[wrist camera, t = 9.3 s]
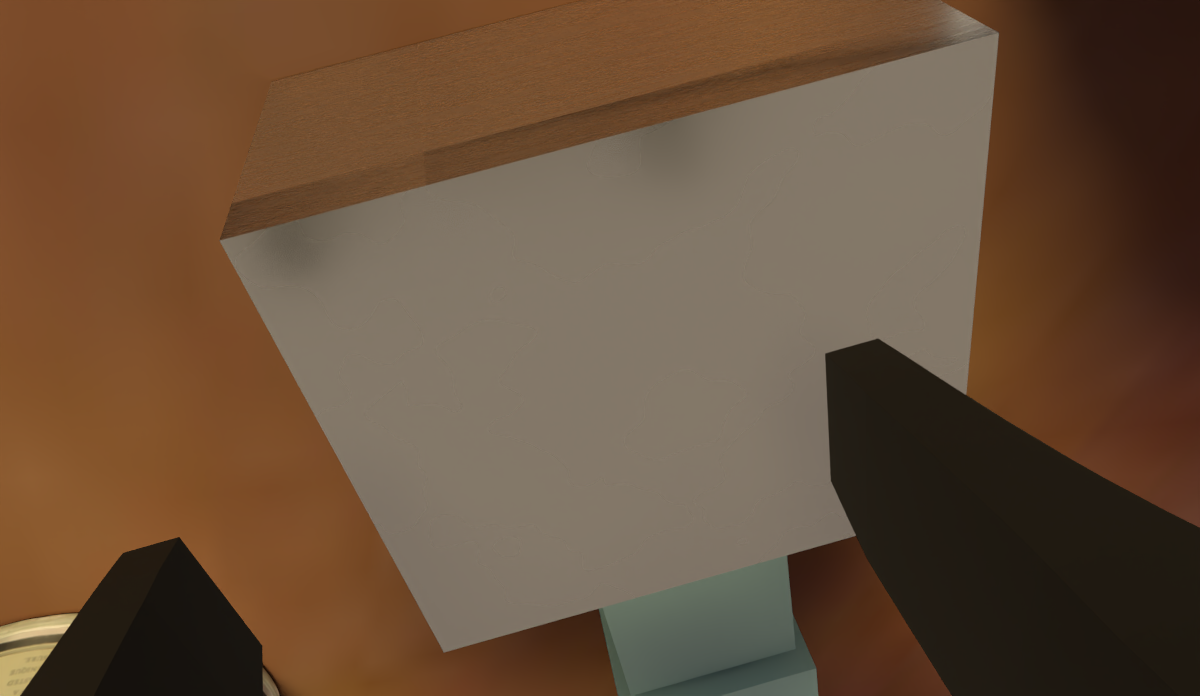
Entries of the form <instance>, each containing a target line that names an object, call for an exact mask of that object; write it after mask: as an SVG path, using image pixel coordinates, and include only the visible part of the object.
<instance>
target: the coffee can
mask: <svg viewBox="0 0 1200 696" xmlns="http://www.w3.org/2000/svg"><path fill="white" fill-rule="evenodd" d="M77 615H78V613H71V614H59V615H51V616H45V617H39V618H33V619H28V620H24V621H19V622H15V623H12V624H8V625H4V626H1V627H0V696H20V695H21V694H22V692H23V691H24V689H25V688H26V687H27V685H28V684H29V682H30V681H31V680H32V678H33V677H34V675H35V674H36V673H37V671H38V670H39V668H40V667H41V666H42V664H43V663H44V661H45V660H46V659H47V657H48V656H49V654H50V653H51V651H52V650H53V649H54V647H55V646H56V644H57V643H58V642H59V640H60V639H61V637H62V636H63V634H64V633H65V632H66V630H67V629H68V627H69V626H70V625H71V623H72V622H73V620H74V619H75V617H76V616H77ZM263 696H280V695H279V692H278V689H277V687H276V685H275V683H274V682H273V680H272V678H271V677H270V675H269V674H268V673H267V672H266V670H265V669H264V668H263Z"/></svg>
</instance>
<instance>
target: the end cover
mask: <svg viewBox="0 0 1200 696" xmlns="http://www.w3.org/2000/svg"><path fill="white" fill-rule="evenodd" d="M599 613H600V617H601V621H602V626H603V630H604V635H605V639H606V644H607V648H608V653H609V657H610V662H611V666H612V671H613V675H614V680H615V684H616V689H617V693H618V696H818V685H817V671H816V666H815V664H814V662H813V659H812V657H811V655H810V653H809V650H808V648H807V646H806V643H805V641H804V639H803V636H802V634H801V632H800V630H799V627H798V625H797V623H796V620H795V618H794V616H793V613H792V603H791V593H790V583H789V572H788V562H787V555H786V556H783V557H779V558H776V559H772V560H769V561H765V562H761V563H758V564H754V565H751V566H747V567H744V568H740V569H737V570H733V571H730V572H726V573H723V574H719V575H716V576H712V577H709V578H705V579H701V580H698V581H694V582H691V583H687V584H684V585H680V586H677V587H673V588H670V589H666V590H663V591H659V592H656V593H652V594H649V595H645V596H641V597H638V598H634V599H631V600H627V601H624V602H620V603H617V604H613V605H610V606H606V607H603V608H599Z"/></svg>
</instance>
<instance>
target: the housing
mask: <svg viewBox="0 0 1200 696" xmlns="http://www.w3.org/2000/svg"><path fill="white" fill-rule="evenodd" d="M998 37H999V33H998V32H996V31H995V30H993V29H991V28H989V27H987V26H986V25H984V24H982V23H980V22H978V21H976V20H975V19H973V18H971V17H969V16H967V15H965V14H964V13H962V12H960V11H958V10H956V9H955V8H953V7H951V6H949V5H947V4H945V3H944V2H942V1H940V0H582V1H578V2H575V3H571V4H567V5H563V6H559V7H555V8H552V9H548V10H544V11H540V12H536V13H533V14H529V15H525V16H521V17H517V18H513V19H510V20H506V21H502V22H498V23H494V24H490V25H487V26H483V27H479V28H475V29H471V30H468V31H464V32H460V33H456V34H452V35H448V36H445V37H441V38H437V39H433V40H429V41H425V42H422V43H418V44H414V45H410V46H406V47H403V48H399V49H395V50H391V51H387V52H383V53H380V54H376V55H372V56H368V57H364V58H360V59H357V60H353V61H349V62H345V63H341V64H338V65H334V66H330V67H326V68H322V69H318V70H315V71H311V72H307V73H303V74H299V75H295V76H292V77H288V78H284V79H280V80H276V81H273V82H271V85H270V89H269V92H268V95H267V98H266V101H265V104H264V107H263V110H262V113H261V116H260V119H259V122H258V125H257V128H256V131H255V134H254V137H253V140H252V143H251V146H250V150H249V153H248V156H247V159H246V162H245V165H244V168H243V171H242V174H241V177H240V180H239V183H238V186H237V189H236V192H235V195H234V198H233V201H232V204H231V207H230V211H229V214H228V217H227V220H226V223H225V226H224V229H223V232H222V235H221V238H220V242H221V244H222V246H223V248H224V250H225V251H226V253H227V255H228V257H229V259H230V261H231V262H232V264H233V266H234V268H235V270H236V272H237V273H238V275H239V277H240V279H241V281H242V283H243V284H244V286H245V288H246V290H247V292H248V294H249V295H250V297H251V299H252V301H253V303H254V305H255V306H256V308H257V310H258V312H259V314H260V316H261V317H262V319H263V321H264V323H265V325H266V327H267V328H268V330H269V332H270V334H271V336H272V338H273V339H274V341H275V343H276V345H277V347H278V349H279V351H280V352H281V354H282V356H283V358H284V360H285V362H286V363H287V365H288V367H289V369H290V371H291V373H292V374H293V376H294V378H295V380H296V382H297V384H298V385H299V387H300V389H301V391H302V393H303V395H304V396H305V398H306V400H307V402H308V404H309V406H310V407H311V409H312V411H313V413H314V415H315V417H316V418H317V420H318V422H319V424H320V426H321V428H322V429H323V431H324V433H325V435H326V437H327V439H328V440H329V442H330V444H331V446H332V448H333V450H334V451H335V453H336V455H337V457H338V459H339V461H340V463H341V464H342V466H343V468H344V470H345V472H346V474H347V475H348V477H349V479H350V481H351V483H352V485H353V486H354V488H355V490H356V492H357V494H358V496H359V497H360V499H361V501H362V503H363V505H364V507H365V508H366V510H367V512H368V514H369V516H370V518H371V519H372V521H373V523H374V525H375V527H376V529H377V530H378V532H379V534H380V536H381V538H382V540H383V541H384V543H385V545H386V547H387V549H388V551H389V552H390V554H391V556H392V558H393V560H394V562H395V563H396V565H397V567H398V569H399V571H400V573H401V575H402V576H403V578H404V580H405V582H406V584H407V586H408V587H409V589H410V591H411V593H412V595H413V597H414V598H415V600H416V602H417V604H418V606H419V608H420V609H421V611H422V613H423V615H424V617H425V619H426V620H427V622H428V624H429V626H430V628H431V630H432V631H433V633H434V635H435V637H436V639H437V641H438V642H439V644H440V646H441V648H442V650H443V652H447V651H451V650H454V649H458V648H461V647H465V646H468V645H472V644H476V643H479V642H483V641H486V640H490V639H493V638H497V637H500V636H504V635H507V634H511V633H514V632H518V631H521V630H525V629H528V628H532V627H536V626H539V625H543V624H546V623H550V622H553V621H557V620H560V619H564V618H567V617H571V616H574V615H578V614H581V613H585V612H589V611H592V610H596V609H599V608H603V607H606V606H610V605H613V604H617V603H620V602H624V601H627V600H631V599H634V598H638V597H641V596H645V595H649V594H652V593H656V592H659V591H663V590H666V589H670V588H673V587H677V586H680V585H684V584H687V583H691V582H694V581H698V580H701V579H705V578H709V577H712V576H716V575H719V574H723V573H726V572H730V571H733V570H737V569H740V568H744V567H747V566H751V565H754V564H758V563H761V562H765V561H769V560H772V559H776V558H779V557H783V556H786V555H790V554H793V553H797V552H800V551H804V550H807V549H811V548H814V547H818V546H822V545H825V544H829V543H832V542H836V541H839V540H843V539H846V538H850V537H853V536H856V534H855V532H854V530H853V528H852V526H851V524H850V522H849V520H848V518H847V515H846V513H845V511H844V509H843V507H842V504H841V502H840V500H839V498H838V496H837V493H836V491H835V489H834V487H833V485H832V482H831V476H830V453H829V431H828V409H827V387H826V364H825V353H828V352H832V351H835V350H839V349H842V348H846V347H850V346H853V345H857V344H860V343H864V342H867V341H871V340H874V339H880V340H881V341H883V342H885V343H886V344H888V345H889V346H891V347H893V348H894V349H896V350H897V351H899V352H900V353H902V354H904V355H905V356H907V357H908V358H910V359H911V360H913V361H914V362H916V363H917V364H919V365H920V366H922V367H924V368H925V369H927V370H928V371H930V372H931V373H933V374H934V375H936V376H937V377H939V378H940V379H942V380H944V381H945V382H947V383H948V384H950V385H951V386H953V387H954V388H956V389H957V390H959V391H961V392H962V393H964V394H965V395H966V391H967V380H968V369H969V358H970V347H971V336H972V324H973V313H974V302H975V291H976V280H977V269H978V258H979V247H980V236H981V225H982V214H983V203H984V192H985V181H986V170H987V159H988V148H989V137H990V126H991V115H992V104H993V93H994V82H995V71H996V59H997V48H998Z"/></svg>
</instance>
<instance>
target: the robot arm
mask: <svg viewBox="0 0 1200 696" xmlns="http://www.w3.org/2000/svg"><path fill="white" fill-rule="evenodd" d="M825 364H826V387H827V409H828V431H829V453H830V476H831V482H832V485H833V487H834V489H835V491H836V493H837V496H838V498H839V500H840V502H841V504H842V507H843V509H844V511H845V513H846V515H847V518H848V520H849V522H850V524H851V526H852V528H853V530H854V532H855V534H856V537H857V539H858V541H859V543H860V545H861V547H862V549H863V551H864V553H865V555H866V557H867V559H868V561H869V563H870V564H871V566H872V568H873V569H874V571H875V573H876V574H877V576H878V578H879V579H880V581H881V582H882V584H883V586H884V587H885V589H886V591H887V592H888V594H889V595H890V597H891V599H892V600H893V602H894V603H895V605H896V607H897V608H898V610H899V612H900V613H901V615H902V616H903V618H904V620H905V621H906V623H907V624H908V626H909V628H910V629H911V631H912V632H913V634H914V636H915V637H916V639H917V640H918V642H919V644H920V645H921V647H922V648H923V650H924V652H925V653H926V655H927V656H928V658H929V660H930V661H931V663H932V664H933V666H934V668H935V669H936V671H937V672H938V674H939V676H940V677H941V679H942V680H943V682H944V684H945V685H946V687H947V688H948V690H949V692H950V693H951V695H952V696H1200V528H1199V527H1197V526H1195V525H1193V524H1191V523H1189V522H1187V521H1185V520H1183V519H1181V518H1179V517H1177V516H1175V515H1173V514H1171V513H1169V512H1167V511H1165V510H1163V509H1161V508H1159V507H1158V506H1156V505H1154V504H1152V503H1150V502H1148V501H1146V500H1144V499H1143V498H1141V497H1139V496H1137V495H1135V494H1133V493H1131V492H1129V491H1128V490H1126V489H1124V488H1122V487H1120V486H1118V485H1116V484H1114V483H1113V482H1111V481H1109V480H1107V479H1105V478H1103V477H1101V476H1100V475H1098V474H1096V473H1094V472H1093V471H1091V470H1089V469H1087V468H1086V467H1084V466H1082V465H1080V464H1079V463H1077V462H1075V461H1073V460H1071V459H1070V458H1068V457H1066V456H1065V455H1063V454H1061V453H1060V452H1058V451H1056V450H1055V449H1053V448H1051V447H1050V446H1048V445H1046V444H1045V443H1043V442H1041V441H1040V440H1038V439H1036V438H1035V437H1033V436H1031V435H1030V434H1028V433H1026V432H1025V431H1023V430H1021V429H1020V428H1018V427H1016V426H1015V425H1013V424H1011V423H1010V422H1008V421H1006V420H1005V419H1003V418H1002V417H1000V416H998V415H997V414H995V413H994V412H992V411H990V410H989V409H987V408H986V407H984V406H982V405H981V404H979V403H978V402H976V401H975V400H973V399H972V398H970V397H968V396H967V395H965V394H964V393H962V392H961V391H959V390H957V389H956V388H954V387H953V386H951V385H950V384H948V383H947V382H945V381H944V380H942V379H940V378H939V377H937V376H936V375H934V374H933V373H931V372H930V371H928V370H927V369H925V368H924V367H922V366H920V365H919V364H917V363H916V362H914V361H913V360H911V359H910V358H908V357H907V356H905V355H904V354H902V353H900V352H899V351H897V350H896V349H894V348H893V347H891V346H889V345H888V344H886V343H885V342H883V341H881V340H880V339H874V340H871V341H867V342H864V343H860V344H857V345H853V346H850V347H846V348H842V349H839V350H835V351H832V352H828V353H825ZM20 696H263V663H262V645H261V644H260V642H259V641H258V640H257V638H256V637H255V636H254V634H253V633H252V632H251V630H250V629H249V628H248V627H247V625H246V624H245V623H244V621H243V620H242V619H241V617H240V616H239V615H238V613H237V612H236V611H235V610H234V608H233V607H232V606H231V604H230V603H229V602H228V600H227V599H226V598H225V596H224V595H223V594H222V593H221V591H220V590H219V589H218V587H217V586H216V585H215V583H214V582H213V581H212V579H211V578H210V577H209V575H208V574H207V573H206V572H205V570H204V569H203V568H202V566H201V565H200V564H199V562H198V561H197V560H196V558H195V557H194V556H193V555H192V553H191V552H190V551H189V549H188V548H187V547H186V545H185V544H184V543H183V541H182V540H181V539H180V538H179V537H178V538H174V539H171V540H167V541H164V542H160V543H157V544H153V545H150V546H146V547H143V548H139V549H136V550H132V551H129V552H125V553H123V554H122V555H121V556H120V558H119V559H118V560H117V562H116V563H115V564H114V565H113V567H112V568H111V569H110V571H109V572H108V573H107V575H106V576H105V577H104V579H103V580H102V581H101V583H100V584H99V585H98V587H97V588H96V590H95V591H94V592H93V594H92V595H91V596H90V598H89V599H88V601H87V602H86V603H85V605H84V606H83V608H82V609H81V610H80V612H79V613H78V615H77V616H76V617H75V619H74V620H73V622H72V623H71V625H70V626H69V627H68V629H67V630H66V632H65V633H64V634H63V636H62V637H61V639H60V640H59V642H58V643H57V644H56V646H55V647H54V649H53V650H52V651H51V653H50V654H49V656H48V657H47V659H46V660H45V661H44V663H43V664H42V666H41V667H40V668H39V670H38V671H37V673H36V674H35V675H34V677H33V678H32V680H31V681H30V682H29V684H28V685H27V687H26V688H25V689H24V691H23V692H22V694H21V695H20Z"/></svg>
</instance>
